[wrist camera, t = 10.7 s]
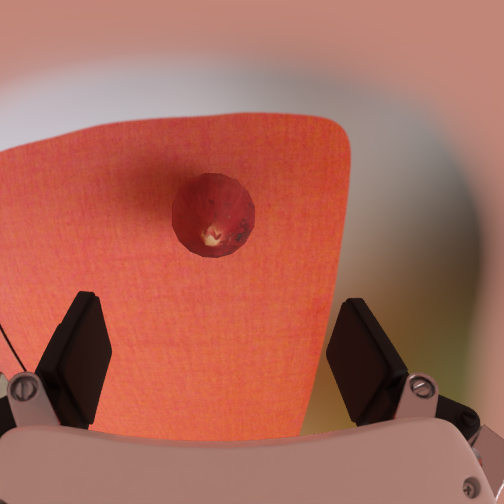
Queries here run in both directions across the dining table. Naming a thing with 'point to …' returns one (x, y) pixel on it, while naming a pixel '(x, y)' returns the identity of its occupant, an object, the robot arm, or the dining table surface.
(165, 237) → the dining table surface
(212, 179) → the onion
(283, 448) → the robot arm
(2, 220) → the dining table surface
